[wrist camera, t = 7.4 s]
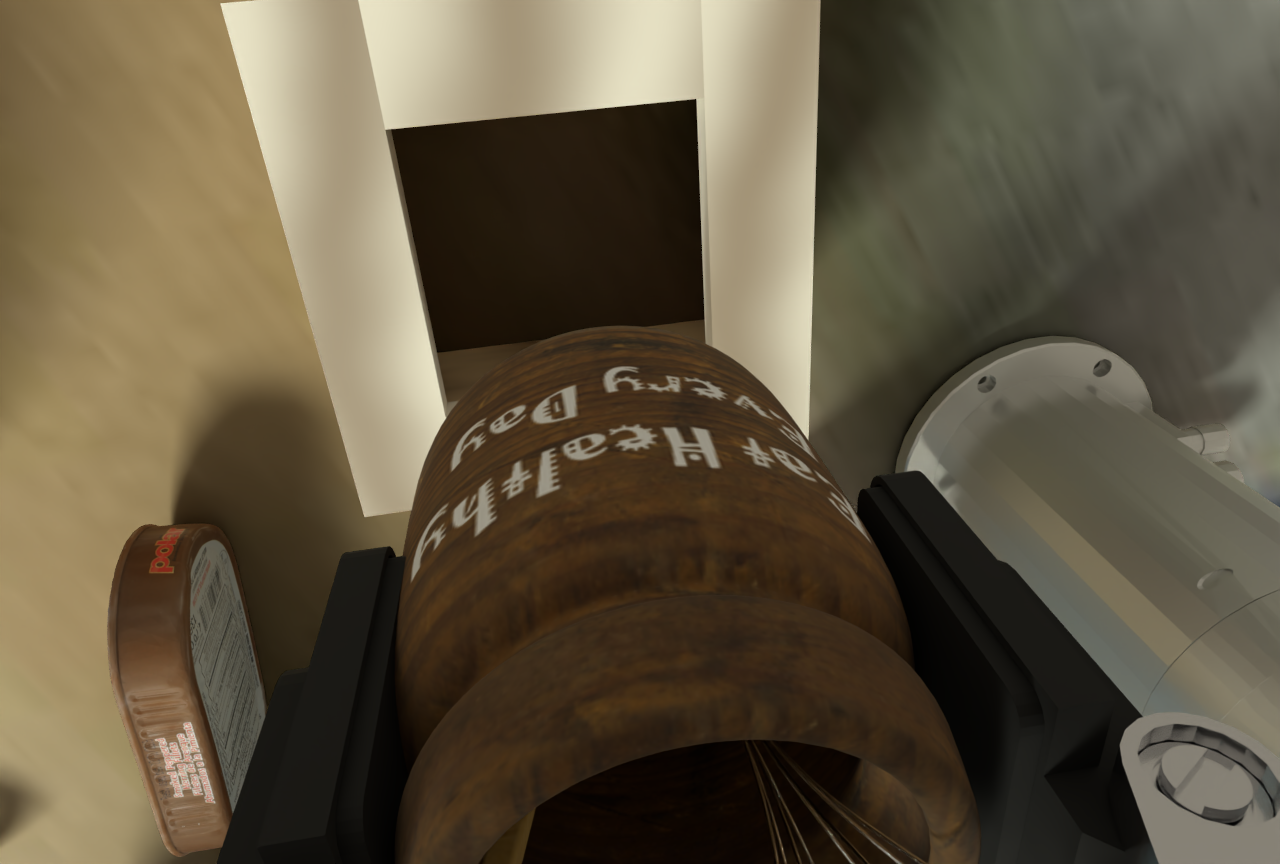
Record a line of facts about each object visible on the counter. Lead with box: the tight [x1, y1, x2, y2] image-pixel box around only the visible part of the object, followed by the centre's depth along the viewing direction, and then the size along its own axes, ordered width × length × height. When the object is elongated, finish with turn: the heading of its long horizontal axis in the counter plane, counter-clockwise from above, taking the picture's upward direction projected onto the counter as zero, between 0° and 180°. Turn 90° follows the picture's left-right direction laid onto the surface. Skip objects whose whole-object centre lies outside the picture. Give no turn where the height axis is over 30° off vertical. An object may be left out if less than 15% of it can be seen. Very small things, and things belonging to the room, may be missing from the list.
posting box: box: [220, 0, 820, 517], centre depth 27 cm, size 14×14×10 cm
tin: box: [107, 523, 267, 856], centre depth 35 cm, size 15×3×8 cm, turn 178°
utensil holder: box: [394, 326, 981, 864], centre depth 8 cm, size 6×6×12 cm
